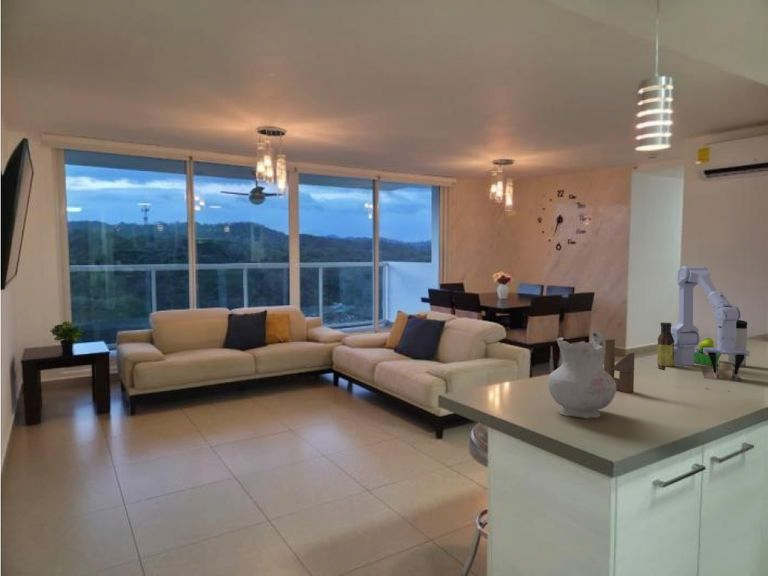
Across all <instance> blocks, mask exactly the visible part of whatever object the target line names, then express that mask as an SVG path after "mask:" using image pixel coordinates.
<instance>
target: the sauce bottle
mask: <svg viewBox="0 0 768 576" xmlns="http://www.w3.org/2000/svg"><path fill="white" fill-rule="evenodd" d="M671 333H672V322H669V321H661V322H660V334H659V335H658V338H657V368H658V369H660V370H666V367H667V368H670V367H671V368H672V367H674V366H675V364H674V339H673V336H672V334H671Z"/></svg>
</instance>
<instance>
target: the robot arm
mask: <svg viewBox="0 0 768 576" xmlns="http://www.w3.org/2000/svg"><path fill="white" fill-rule="evenodd" d="M710 276H711V271H710V270H709V269H708V267H707V266H706V265H700V266H697V265H693V266H692V265H691V266H686V265H683V266H681V267H680V268H679V269H678V270H677V285H678V324H676V325H675V326H673V327H671V334H672V336H673V339H674V365H679V366H688V367H689V366H694V365H695V363H694V349H695V348H697V346H698V345H699V344H700V342H701V337H700V333H699V328H697V327H696V326H695V325H694V288H695V287H696V286H697V285H698V286H699V287H700V288H701V289H702V290H703V291H704V293H706V295H707V302H708V303H709V305H710V306H711V308H712V309H713V311H714V314H713V315H714V318H715V321H716V322H715V323H716V326H717V339H716V340H717V341H716V342H717V343H716V344H717V346H716V347H714V348H705V347H703V353H708V355H709V357H710V359H711V362H712V365H711V366H712V368H713V372H714V373H716V368H717V365H716V354H721V355H728V356H729V355H735V366H734V369H733V370H734V374H735V375H737V373H738V374H739V369H740V368H741V367H740V365H741V363H742V362H743V360H744V358H745V357H744V356H746V357H750V354H751V352H750V350H747V349H746V350H738V349H735V341H736V321H738V320H741V310H740V308H739V306H736V305H734V304H731V302H730V301H729V300H728V299H727V297H726V296H725V294H724V292H722V291H718V290H717V288H716V286H715V285H714V283H713V281H712V279H711V278H710Z"/></svg>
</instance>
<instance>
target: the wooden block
mask: <svg viewBox="0 0 768 576" xmlns="http://www.w3.org/2000/svg"><path fill="white" fill-rule="evenodd" d="M604 341H605V355H604V363H603V368H604V370H605V371H606V372H607V373H608V374H609V375H611V377H612V378H613V379H614V381H615V383H616V391H618V390H619V392H622V391H623V393H626V392H627V393H626V394H629V392H630V393H632V391H633V392H634V388H635V387H634V385H635V384H634V383H635V381H634V380H635V352H631V353H627V354H626V355H625V356H624V357H623V358H621V359H620V360H619V361H618V362H617V363H616V361H615V360H616V359H615V358H616V339H615V338H609V337H608V338H604ZM615 363H616V364H615ZM615 371H617V372H618V373H619V374H618V375H619V378H618V377H615Z"/></svg>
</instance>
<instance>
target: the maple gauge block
mask: <svg viewBox="0 0 768 576" xmlns="http://www.w3.org/2000/svg"><path fill="white" fill-rule="evenodd" d="M733 367H734V366H733V364H732V362H731V361H728V360H722V359H721V360H720V359H719V360H718V367H717V368H718V374H717V376H718V377H719V378H721V379H731V380H732V370H733Z"/></svg>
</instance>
